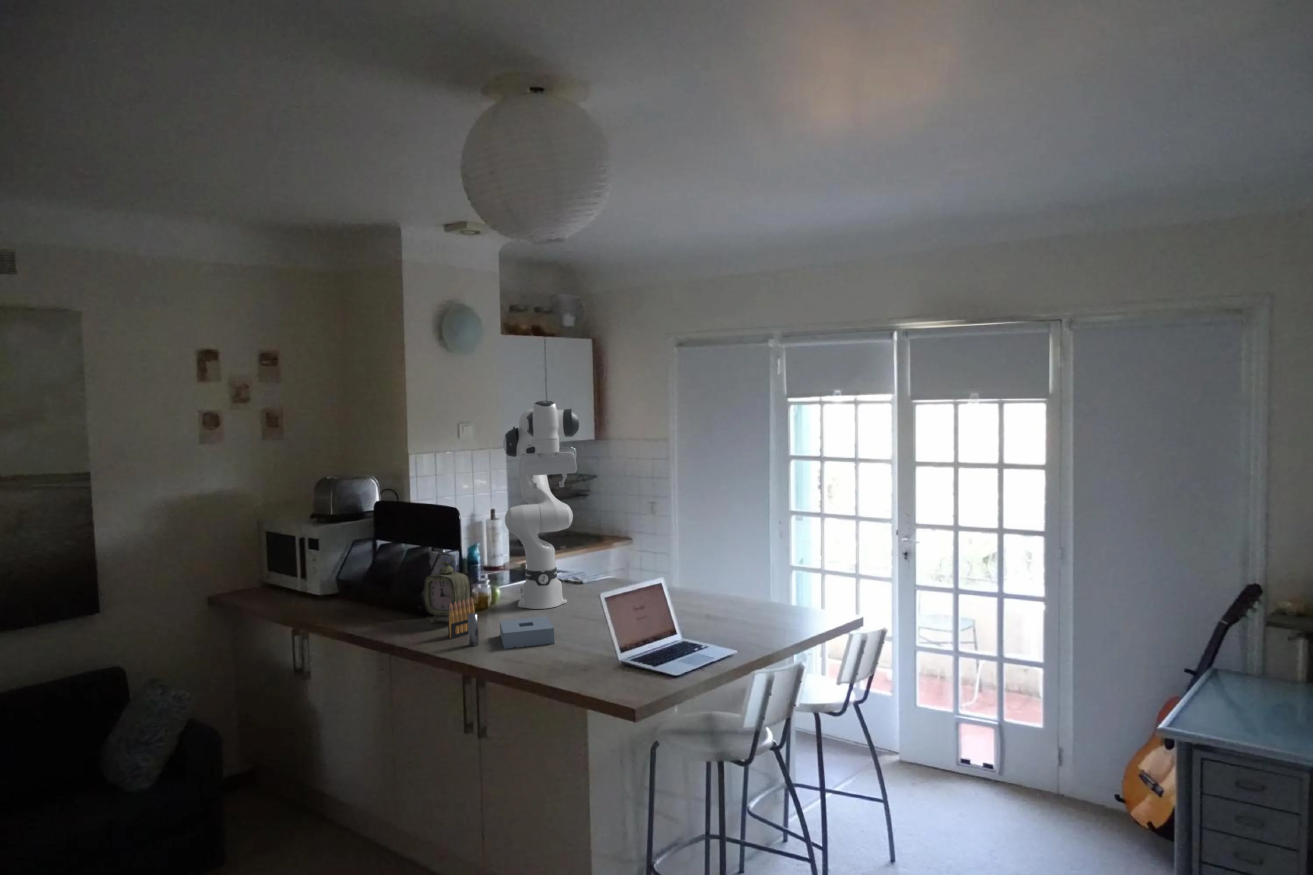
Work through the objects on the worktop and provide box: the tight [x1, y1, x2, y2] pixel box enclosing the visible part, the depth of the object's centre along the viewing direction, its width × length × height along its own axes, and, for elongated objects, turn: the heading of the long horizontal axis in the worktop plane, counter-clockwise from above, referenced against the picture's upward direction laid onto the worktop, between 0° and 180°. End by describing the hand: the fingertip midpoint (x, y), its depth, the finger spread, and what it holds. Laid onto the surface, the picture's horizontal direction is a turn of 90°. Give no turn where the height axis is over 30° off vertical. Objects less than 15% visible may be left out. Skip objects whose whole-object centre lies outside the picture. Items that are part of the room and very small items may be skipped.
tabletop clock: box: [423, 552, 471, 624], centre depth 304 cm, size 14×9×25 cm, turn 62°
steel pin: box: [467, 612, 480, 647], centre depth 274 cm, size 3×3×10 cm
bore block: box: [499, 615, 555, 650], centre depth 279 cm, size 16×16×5 cm
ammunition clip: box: [447, 596, 476, 640], centre depth 287 cm, size 11×2×12 cm, turn 142°
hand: (548, 487), depth 294 cm, fingers open, 8 cm apart
